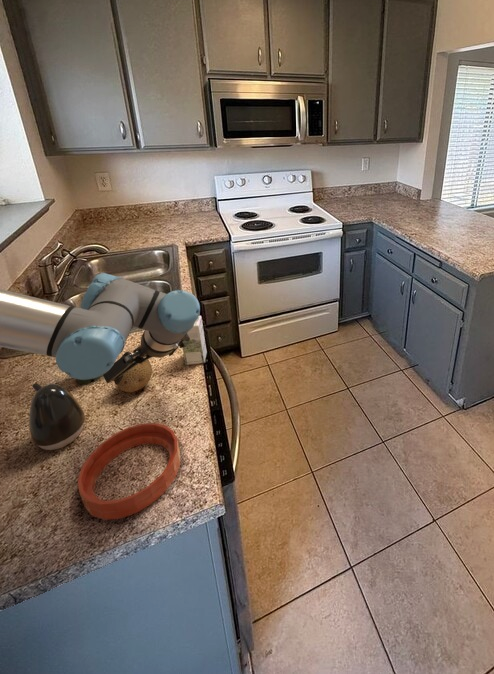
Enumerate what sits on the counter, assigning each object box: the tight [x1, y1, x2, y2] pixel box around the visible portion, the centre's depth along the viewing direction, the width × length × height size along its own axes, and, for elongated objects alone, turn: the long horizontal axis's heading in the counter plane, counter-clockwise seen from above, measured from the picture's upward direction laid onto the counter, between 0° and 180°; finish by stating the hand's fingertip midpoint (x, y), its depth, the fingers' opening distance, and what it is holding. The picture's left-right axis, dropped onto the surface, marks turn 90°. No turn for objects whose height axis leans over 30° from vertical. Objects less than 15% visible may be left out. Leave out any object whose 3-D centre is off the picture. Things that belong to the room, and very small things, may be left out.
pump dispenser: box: [28, 382, 86, 451], centre depth 82 cm, size 10×10×15 cm
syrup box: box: [181, 315, 208, 366], centre depth 109 cm, size 6×6×14 cm
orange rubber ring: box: [77, 422, 181, 521], centre depth 75 cm, size 18×18×5 cm
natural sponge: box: [116, 359, 153, 393], centre depth 98 cm, size 9×9×10 cm
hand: (143, 364), depth 91 cm, fingers open, 13 cm apart
